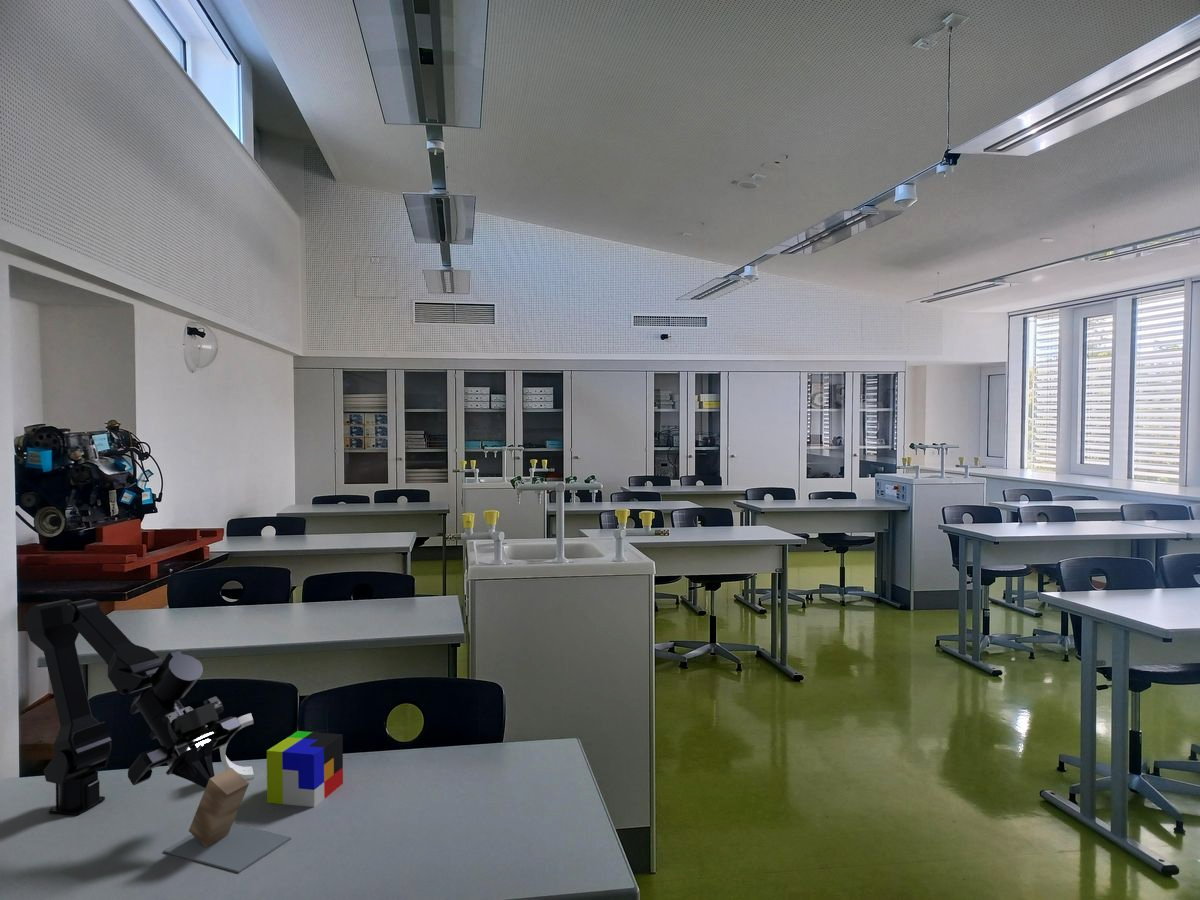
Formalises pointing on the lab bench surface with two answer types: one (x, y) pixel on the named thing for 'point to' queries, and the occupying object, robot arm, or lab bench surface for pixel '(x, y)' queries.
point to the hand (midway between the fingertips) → (213, 787)
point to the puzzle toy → (304, 768)
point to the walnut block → (218, 807)
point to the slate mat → (230, 848)
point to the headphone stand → (242, 771)
